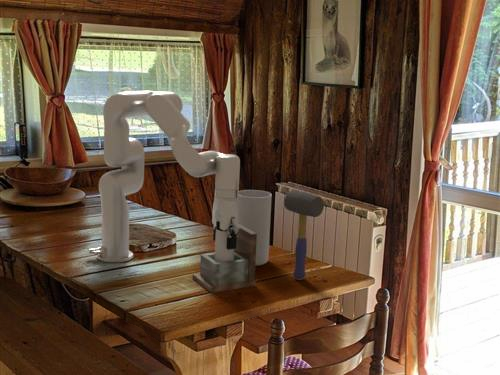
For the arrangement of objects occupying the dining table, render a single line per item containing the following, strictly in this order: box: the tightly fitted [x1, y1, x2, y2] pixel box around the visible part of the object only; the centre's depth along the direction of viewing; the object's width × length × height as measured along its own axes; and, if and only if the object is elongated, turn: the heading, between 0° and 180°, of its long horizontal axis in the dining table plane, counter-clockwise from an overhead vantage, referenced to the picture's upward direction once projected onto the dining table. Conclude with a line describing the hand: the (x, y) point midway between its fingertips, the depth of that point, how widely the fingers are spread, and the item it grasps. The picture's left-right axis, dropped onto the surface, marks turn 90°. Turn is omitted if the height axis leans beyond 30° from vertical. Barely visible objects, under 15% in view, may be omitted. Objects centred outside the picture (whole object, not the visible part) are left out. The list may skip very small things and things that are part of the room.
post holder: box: [192, 224, 257, 294], centre depth 213 cm, size 16×14×18 cm
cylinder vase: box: [237, 189, 273, 267], centre depth 235 cm, size 12×12×25 cm
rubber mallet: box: [283, 190, 325, 281], centre depth 218 cm, size 12×8×30 cm, turn 46°
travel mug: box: [214, 221, 234, 263], centre depth 212 cm, size 6×7×20 cm
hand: (224, 244), depth 213 cm, fingers open, 9 cm apart
